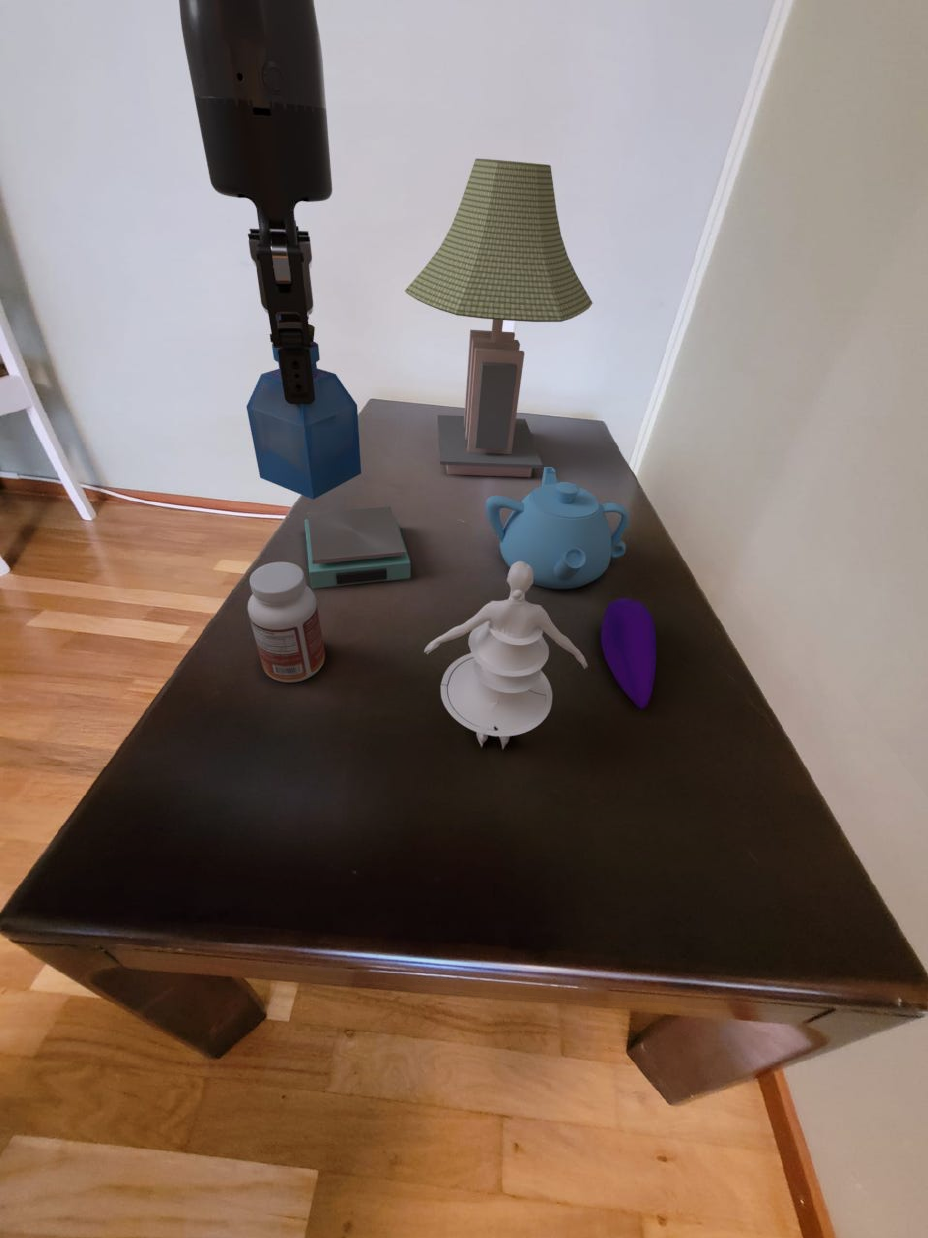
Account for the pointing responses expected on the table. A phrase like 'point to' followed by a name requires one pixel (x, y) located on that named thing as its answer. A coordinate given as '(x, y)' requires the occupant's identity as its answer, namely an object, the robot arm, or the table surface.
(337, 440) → the perfume bottle
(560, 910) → the table surface
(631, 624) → the purple teardrop shape
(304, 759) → the table surface
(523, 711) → the figurine
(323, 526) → the pan
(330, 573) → the scale
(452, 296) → the desk lamp
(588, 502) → the teapot
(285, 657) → the pill bottle
